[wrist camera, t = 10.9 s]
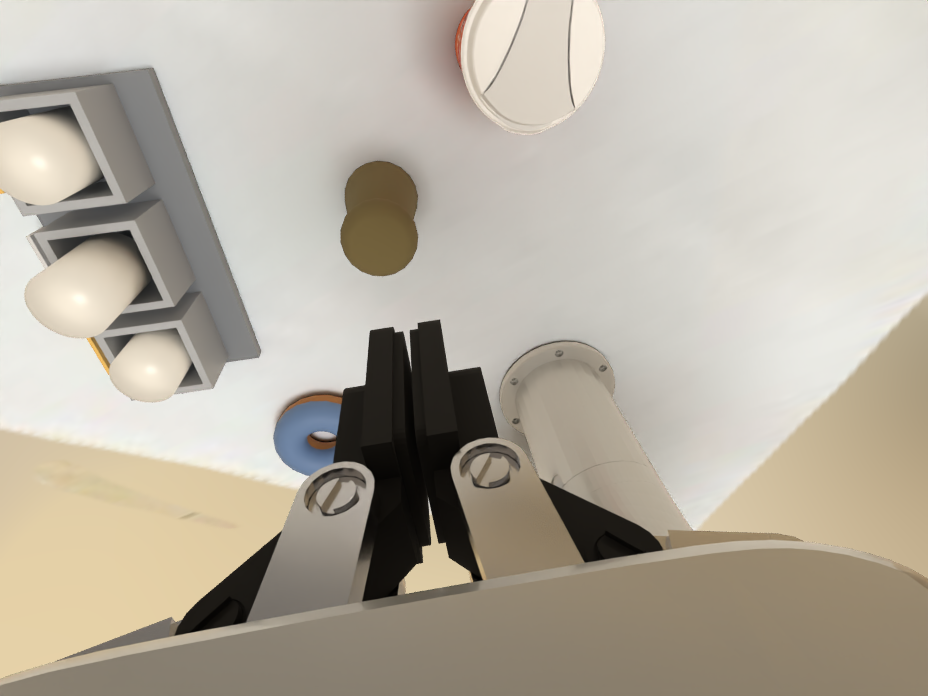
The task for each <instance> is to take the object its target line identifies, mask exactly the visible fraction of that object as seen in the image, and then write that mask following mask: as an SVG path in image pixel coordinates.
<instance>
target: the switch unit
mask: <svg viewBox="0 0 928 696" xmlns="http://www.w3.org/2000/svg"><path fill="white" fill-rule="evenodd" d="M65 106H71V108H72V110H73V112H74V114H75V116H76V118H77V120H78V122H79V124H80V127H81V129H82V131H83V133H84V135H85V137H86V139H87V141H88V143H89V145H90V147H91V150H92V152H93V154H94V156H95V158H96V160H97V162H98V164H99V166H100V168H101V171H102V173H103V175H104V178H102V179H100V180H99V181H97V182H95V183H93V184H91V185H89V186H87V187H85V188H84V189H82V190H80V191H78V192H76V193H74V194H72V195H71V196H69V197H67V198H65V199H63V200H61V201H59V202H58V203H55V204H51V205H34V204H29V203H25V202H23V201H20V200H18V199H16V198H14V197H12V196H11V197H12V198H13V200H14V202H15V204H16V205H17V207H18V209H19V210H20V212H21V214H22V215H23V216H29V215H37V217H38V218H39V220H40V222H41V224H42V225H43V227H42V228H40V229H38V230H36V231H35V232H33V233H31V234H30V235H28V236H26V238H27V240H28V241H29V243H30V245H31V246H32V248H33V250H34V251H35V253H36V255H37V256H38V258H39V260H40V261H41V263H42V265H43V266H44V268H45V269H46V268H47V267H49V266H50V265H51V264H53V263H54V262H56V261H57V260H59V259H60V258H61V257H63V256H64V255H66V254H67V253H68V252H70V251H71V250H73V249H74V248H75V247H77V246H78V245H80V244H81V243H82V242H84V241H85V240H87V239H88V238H89V237H91V236H93V235H95V234H101V233H109V232H115V233H119V234H123V235H125V236H128V237H130V238H132V239H133V240H135V242H136V244H137V246H138V248H139V250H140V252H141V255H142V257H143V259H144V261H145V263H146V265H147V267H148V269H149V271H150V273H151V275H152V279H151V281H150V282H149V284H148V285H147V286H146V287H145V288H144V289H143V290H142V291H141V292H140V293H139V294H138V295H137V297H136V298H135V299H134V300H133V301H132V302H131V303H130V304H129V305H128V306H127V307H126V308H125V309H124V311H123V312H122V313H121V314H120V315H119V316H118V317H117V318H116V319H115V320H114V321H113V322H112V323H111V324H110V326H109V327H108V328H107V329H106V330H105V331H104V332H102V333H101V334H99V335H97V336H94V337H90V338H87V340H88V341H89V343H90V345H91V346H92V348H93V350H94V351H95V353H96V355H97V356H98V358H99V360H100V361H101V363H102V365H103V367H104V368H105V370H106V372H107V373H108V375H109V368H110V365H111V363H112V362H113V360H114V359H115V358H116V357H117V355H118V354H119V353H120V352H121V351H122V349H123V348H124V347H125V346H126V344H127V343H128V342H129V341H130V340H131V338H132V337H133V336H134V335H135V334H136V333H142V332H149V331H156V330H163V329H170V328H177V330H178V332H179V334H180V336H181V338H182V341H183V343H184V345H185V347H186V349H187V351H188V353H189V355H190V357H191V359H192V364H191V366H190V368H189V369H188V371H187V373H186V374H185V376H184V378H183V380H182V381H181V383H180V385H179V386H178V388H177V390H176V392H175V393H174V394H180V393H187V392H194V391H200V390H207V389H213V388H214V386H215V384H216V382H217V380H218V377H219V375H220V373H221V371H222V369H223V367H224V365H225V363H226V362H231V361H238V360H245V359H252V358H259V356H260V353H261V350H260V348H259V345H258V342H257V340H256V337H255V334H254V332H253V329H252V327H251V324H250V321H249V319H248V316H247V313H246V311H245V308H244V305H243V303H242V300H241V298H240V295H239V292H238V290H237V287H236V284H235V282H234V279H233V276H232V274H231V271H230V269H229V266H228V263H227V261H226V258H225V255H224V253H223V250H222V248H221V245H220V242H219V240H218V237H217V234H216V232H215V229H214V226H213V224H212V221H211V219H210V216H209V213H208V211H207V208H206V205H205V203H204V200H203V198H202V195H201V192H200V190H199V187H198V184H197V182H196V179H195V176H194V174H193V171H192V169H191V166H190V163H189V161H188V158H187V155H186V153H185V150H184V147H183V145H182V142H181V140H180V137H179V134H178V132H177V129H176V126H175V124H174V121H173V119H172V116H171V113H170V111H169V108H168V105H167V103H166V100H165V97H164V95H163V92H162V90H161V87H160V84H159V82H158V79H157V76H156V74H155V71H154V68H151V69H142V70H134V71H125V72H116V73H107V74H98V75H89V76H80V77H72V78H63V79H54V80H45V81H36V82H27V83H19V84H10V85H1V86H0V123H1V122H5V121H9V120H13V119H17V118H21V117H25V116H29V115H33V114H37V113H41V112H45V111H49V110H53V109H56V108H60V107H65ZM2 193H6V192H4V191H3V190H2V189H0V194H2ZM130 399H131V401H132V400H134V399H132V398H130Z"/></svg>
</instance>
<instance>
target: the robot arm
mask: <svg viewBox="0 0 928 696" xmlns="http://www.w3.org/2000/svg"><path fill="white" fill-rule="evenodd" d="M410 346H411V366H412V371H411V366H410V361H409V357H408V352H407V347H406V342H405V337H404V333H403V331H402V332H396V333H395V331H394V328H393V327H389V328H383V329H376V330H371V331H370V335H369V347H368V360H367V372H366V384H365V385H364V386H358V387H352V388H346V389H344V391H343V396H342V403H341V410H340V417H339V424H338V431H337V438H336V445H335V452H334V459H333V464H331V465H328V466H325V467H323V468H321V469H319V470H318V471H316V472H315V473H313V474H312V475H310V476H309V477H308V478H307V479H306V480H305V481H304V482H303V484H302V485H301V487H300V489H299V490H298V492H297V495H296V497H295V499H294V502H293V505H292V507H291V510H290V512H289V515H288V517H287V520H286V522H285V525H284V528H283V530H282V531H281V532H280V533H279V534H277V535H276V536H275V537H274V538H273V539H272V540H270V541H269V542H268V543H267V544H266V545H264V546H263V547H262V548H261V549H260V550H259V551H257V552H256V553H255V554H254V555H253V556H251V557H250V558H249V559H248V560H247V561H246V562H244V563H243V564H242V565H241V566H240V567H238V568H237V569H236V570H235V571H234V572H232V573H231V574H230V575H229V576H228V577H227V578H225V579H224V580H223V581H222V582H221V583H219V585H217V586H216V587H215V588H214V589H212V590H211V591H210V592H209V593H208V594H206V595H205V596H204V597H203V598H202V599H201V600H199V602H197V603H196V604H195V605H194V606H193V607H192V608H191V609H190V610H189V611H188V613H186V615H185V616H184V618H183V620H181V621H178V622H175V621H174V620H173V618H172V617H170V618H168V619H165V620H162V621H160V622H157V623H155V624H152V625H149V626H147V627H144V628H141V629H139V630H136V631H133V632H131V633H128V634H126V635H123V636H120V637H118V638H115V639H112V640H110V641H107V642H105V643H102V644H100V645H97V646H94V647H91V648H89V649H86V650H84V651H81V652H78V653H76V654H73V655H70V656H68V657H65V658H63V659H60V660H57V661H55V662H52V663H48V664H45V665H42V666H38V667H35V668H32V669H28V670H25V671H22V672H19V673H15V674H12V675H9V676H6V677H4V678H1V679H0V696H928V579H927V578H926V577H924V576H923V575H921V574H919V573H917V572H916V571H914V570H912V569H910V568H908V567H906V566H903V565H901V564H899V563H896V562H894V561H891V560H889V559H885V558H882V557H879V556H876V555H873V554H870V553H866V552H862V551H858V550H854V549H850V548H844V547H838V546H832V545H826V544H820V543H813V542H804V541H802V540H800V539H798V538H796V537H793V536H787V535H782V534H773V533H743V532H742V533H741V532H740V533H739V532H714V531H713V532H711V531H693V530H692V528H691V527H690V526H689V524H688V523H687V521H686V520H685V518H684V517H683V515H682V513H681V512H680V510H679V509H678V507H677V506H676V504H675V503H674V501H673V499H672V498H671V496H670V495H669V493H668V491H667V490H666V488H665V486H664V485H663V483H662V481H661V480H660V478H659V476H658V474H657V473H656V471H655V469H654V468H653V466H652V464H651V463H650V461H649V459H648V458H647V456H646V454H645V453H644V451H643V449H642V447H641V446H640V444H639V442H638V441H637V439H636V437H635V436H634V434H633V432H632V431H631V429H630V427H629V426H628V424H627V422H626V421H625V419H624V417H623V415H622V414H621V412H620V410H619V409H618V407H617V405H616V404H615V402H614V400H613V399H612V396H613V393H614V388H615V377H614V374H613V370H612V368H611V366H610V365H609V363H608V361H607V360H606V359H605V357H604V356H603V355H602V354H601V353H600V352H598V351H597V350H596V349H594V348H592V347H590V346H588V345H585V344H581V343H577V342H556V343H551V344H547V345H544V346H541V347H539V348H536V349H534V350H532V351H530V352H529V353H527V354H526V355H524V356H523V357H521V358H520V359H519V360H518V361H517V362H516V363H515V364H514V365H513V366H512V367H511V368H510V370H509V371H508V372H507V374H506V376H505V378H504V380H503V382H502V385H501V389H500V404H501V408H502V411H503V414H504V416H505V418H506V420H507V421H508V423H509V424H510V425H511V426H512V427H513V428H515V429H516V430H518V431H519V432H521V433H523V434H525V436H526V439H527V442H528V445H529V448H530V451H531V454H532V457H533V460H534V463H535V466H536V470H537V473H538V475H537V473H536V472H535V470H534V468H533V466H532V464H531V462H530V460H529V459H528V457H527V455H526V453H525V452H524V451H523V450H522V449H521V447H520V446H518V445H516V444H515V443H513V442H512V441H508V440H505V439H502V438H498V434H497V430H496V426H495V422H494V418H493V414H492V410H491V407H490V403H489V399H488V395H487V391H486V387H485V383H484V379H483V375H482V371H481V368H480V367H476V368H470V369H464V370H458V371H451V372H448V367H447V361H446V354H445V348H444V342H443V335H442V329H441V323H440V320H434V321H428V322H421V323H418V329H415V330H410ZM538 476H539V477H538ZM428 498H429V503H430V507H431V511H432V516H433V520H434V525H435V529H436V534H437V538H438V543H445V542H446V546H447V551H448V555H449V558H450V559H452V560H453V561H455V562H457V563H458V564H459V565H461V566H463V567H464V568H466V569H467V570H469V575H470V580H471V583H466V584H460V585H454V586H449V587H443V588H437V589H432V590H426V591H420V592H414V593H409V594H405V592H406V590H405V579H404V577H405V576H406V575H407V574H408V573H409V571H411V570H412V568H413V567H414V566H415V565H416V564H419V563H423V555H422V546H428V545H431V535H430V520H429V506H428Z"/></svg>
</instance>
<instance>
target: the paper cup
mask: <svg viewBox="0 0 928 696" xmlns="http://www.w3.org/2000/svg"><path fill="white" fill-rule="evenodd" d="M604 49H605V31H604V23H603V19H602V14H601V11H600V8H599V6H598V3H597V1H596V0H476V1H475V2H474V4H473V6H472V7H471V8H470V9H469V10H468V11H467V12H466V14H465V15H464V16H463V18H462V20H461V22H460V24H459V27H458V30H457V33H456V39H455V50H456V57H457V60H458V63H459V66H460V68H461V70H462V72H463V76H464V81H465V83H466V86H467V89H468V92H469V93H470V95H471V97H472V99H473V101H474V102H475V104H476V105H477V106H478V108H479V109H480V110H481V111H482V112H483V113H484V114H485V115H486V116H487V117H488V118H489V119H490V120H492V121H493V122H495V123H496V124H498V125H499V126H501V127H502V128H503V129H505V130H506V131H507V132H511V133H515V134H523V135H531V134H539V133H541V132H543V131H545V130H547V129H549V128H551V127H553V126H555V125H557V124H559V123H561V122H562V121H564V120H565V119H567V118H568V117H570V116H571V115H572V114H573V113H574V112H575V111H576V110H577V109H578V108H579V107H580V106H581V105H582V104H583V102H584V101H585V100H586V99H587V97H588V95H589V94H590V92H591V91H592V89H593V87H594V85H595V83H596V81H597V79H598V76H599V73H600V70H601V67H602V62H603V57H604Z"/></svg>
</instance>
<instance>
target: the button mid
mask: <svg viewBox="0 0 928 696" xmlns="http://www.w3.org/2000/svg"><path fill="white" fill-rule="evenodd" d="M151 279H152V275H151V273H150V271H149V269H148V267H147V265H146V263H145V261H144V259H143V257H142V255H141V252H140V250H139V248H138V246H137V244H136V242H135V240H133V239H132V238H130V237H128V236H125V235H123V234H119V233H115V232H109V233H101V234H95V235H93V236H91V237H89V238H88V239H87V240H85V241H84V242H82V243H81V244H80V245H78V246H77V247H75V248H74V249H73V250H71V251H70V252H68V253H67V254H66V255H64V256H63V257H61V258H60V259H59V260H57V261H56V262H54V263H53V264H51V265H50V266H49V267H47V268H46V269H44V270H43V271H42V272H40V273H39V274H37V275H36V276H35V277H33V278H32V279H31V280H30V281H29V282H28V284H27V285H26V288H25V293H24V295H25V302H26V305H27V307H28V309H29V311H30V312H31V314H32V315H33V316H34V317H35V318H36V319H37V320H38V321H39V322H40V323H41V324H42V325H44V326H45V327H47V328H48V329H50V330H52V331H54V332H56V333H58V334H61V335H64V336H67V337H72V338H90V337H94V336H97V335H99V334H101V333H102V332H104V331H105V330H106V329H107V328H108V327H109V326H110V324H111V323H112V322H113V321H114V320H115V319H116V318H117V317H118V316H119V315H120V314H121V313H122V312H123V311H124V309H125V308H126V307H127V306H128V305H129V304H130V303H131V302H132V301H133V300H134V299H135V298H136V297H137V295H138V294H139V293H140V292H141V291H142V290H143V289H144V288H145V287H146V286H147V285H148V284H149V282H150V281H151Z"/></svg>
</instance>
